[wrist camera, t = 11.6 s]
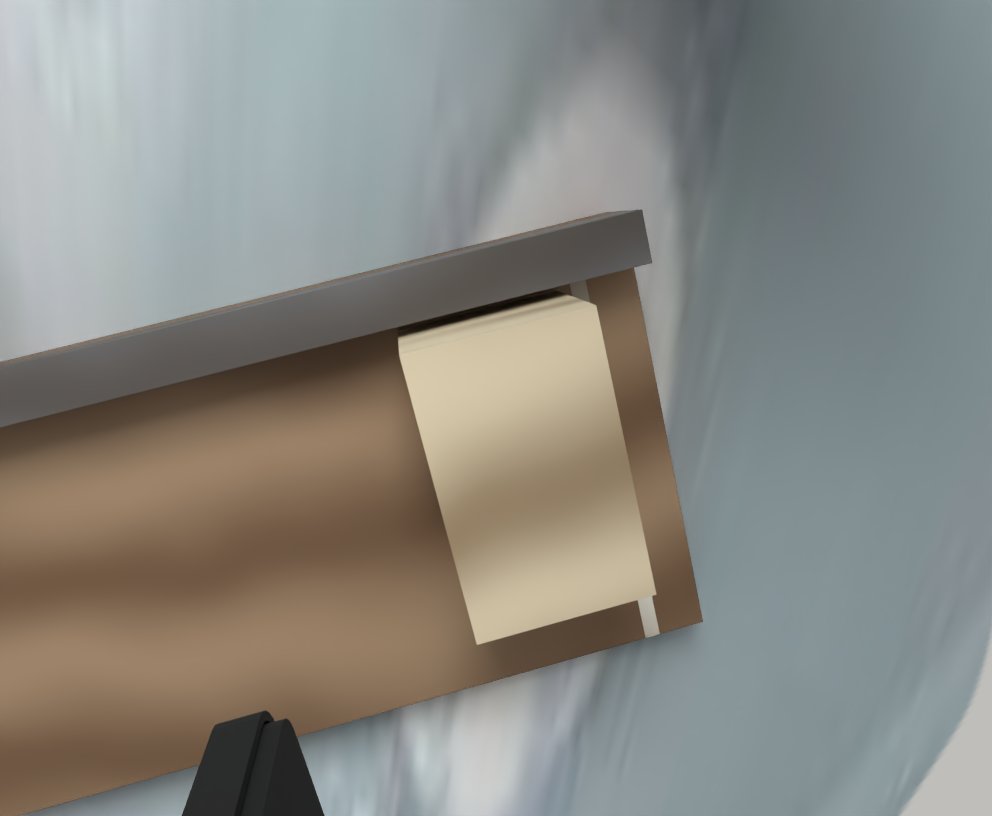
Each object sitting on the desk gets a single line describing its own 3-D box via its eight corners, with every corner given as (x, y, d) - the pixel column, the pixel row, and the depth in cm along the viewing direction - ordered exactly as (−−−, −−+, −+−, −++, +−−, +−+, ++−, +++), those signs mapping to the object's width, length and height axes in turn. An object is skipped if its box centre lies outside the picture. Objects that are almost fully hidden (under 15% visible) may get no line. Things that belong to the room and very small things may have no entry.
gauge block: (398, 330, 25) (399, 355, 20) (557, 290, 25) (596, 305, 21) (466, 586, 27) (482, 664, 22) (612, 546, 27) (660, 614, 23)
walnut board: (-211, 414, 25) (-320, 447, 21) (606, 212, 27) (642, 209, 23) (-36, 798, 29) (-104, 888, 25) (683, 596, 30) (725, 650, 26)
